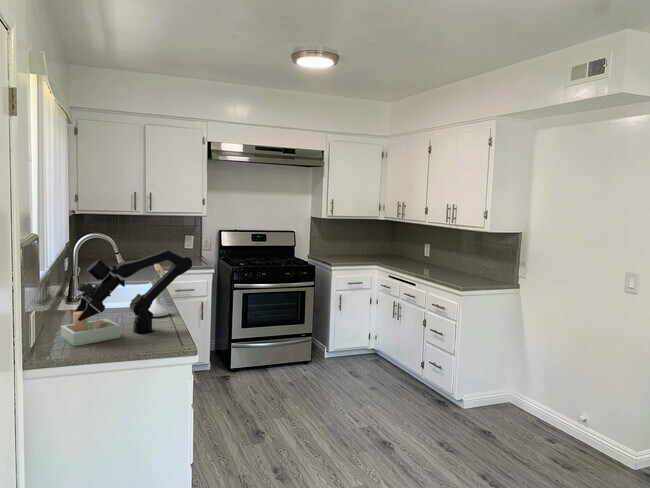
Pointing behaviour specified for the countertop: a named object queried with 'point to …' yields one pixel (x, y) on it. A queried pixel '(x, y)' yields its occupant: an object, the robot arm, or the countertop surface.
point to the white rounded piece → (158, 307)
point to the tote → (90, 334)
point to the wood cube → (102, 324)
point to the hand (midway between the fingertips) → (76, 317)
